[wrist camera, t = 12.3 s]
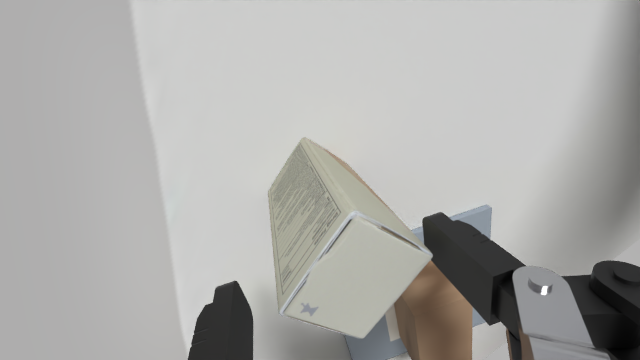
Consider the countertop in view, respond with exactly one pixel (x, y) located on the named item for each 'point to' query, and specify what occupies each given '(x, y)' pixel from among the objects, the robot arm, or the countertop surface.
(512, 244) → the countertop surface
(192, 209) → the countertop surface
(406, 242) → the box
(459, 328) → the walnut slab
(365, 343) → the plate
